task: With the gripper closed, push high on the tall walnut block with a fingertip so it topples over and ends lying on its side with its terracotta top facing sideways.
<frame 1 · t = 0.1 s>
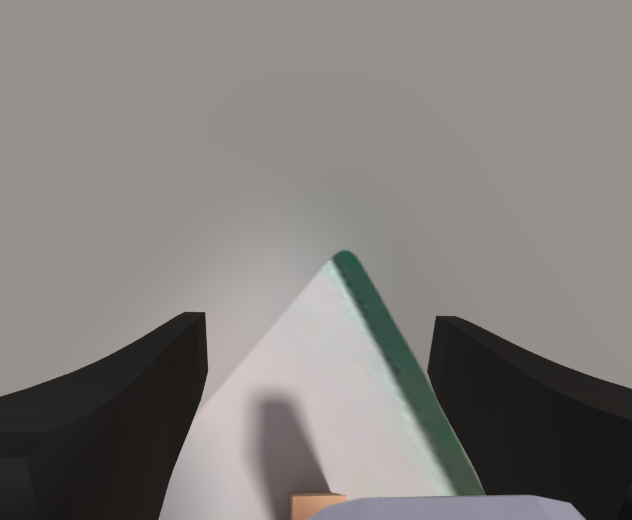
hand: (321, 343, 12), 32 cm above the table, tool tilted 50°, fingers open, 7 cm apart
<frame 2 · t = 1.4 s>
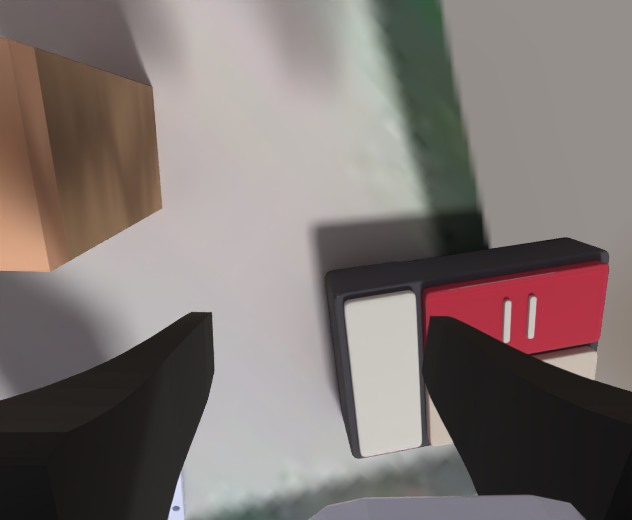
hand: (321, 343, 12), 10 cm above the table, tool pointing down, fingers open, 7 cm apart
walnut block: (117, 148, 19), on the table
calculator: (448, 330, 25), on the table
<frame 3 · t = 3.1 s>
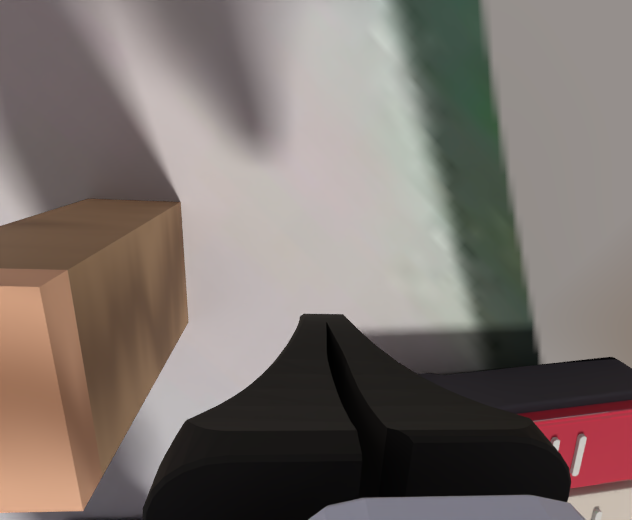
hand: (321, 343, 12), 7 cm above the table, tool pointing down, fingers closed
walnut block: (141, 264, 18), on the table
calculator: (477, 439, 23), on the table
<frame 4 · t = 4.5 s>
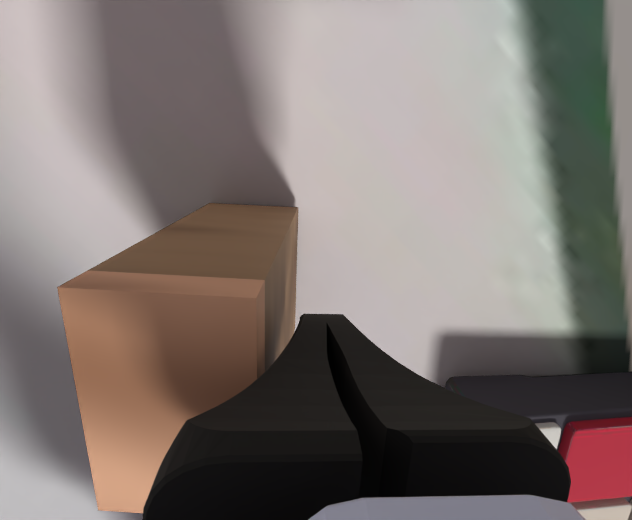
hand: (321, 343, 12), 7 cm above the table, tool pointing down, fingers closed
walnut block: (254, 268, 18), on the table, tilted 6°, touching gripper
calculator: (551, 443, 24), on the table
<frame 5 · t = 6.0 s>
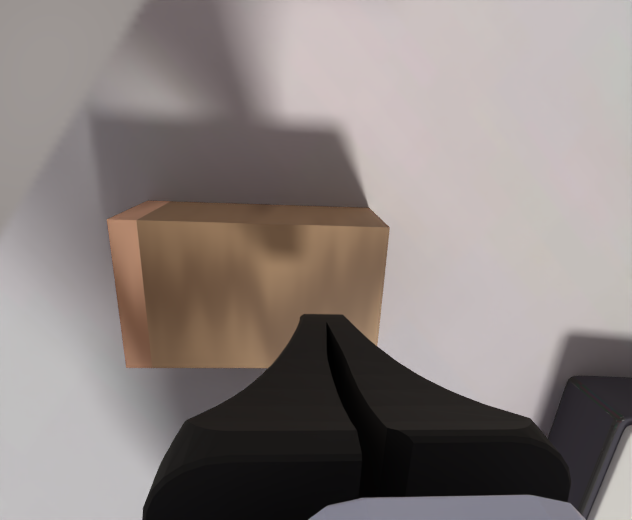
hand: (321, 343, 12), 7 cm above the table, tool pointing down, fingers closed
walnut block: (371, 283, 17), point 2 cm above the table, tilted 90°
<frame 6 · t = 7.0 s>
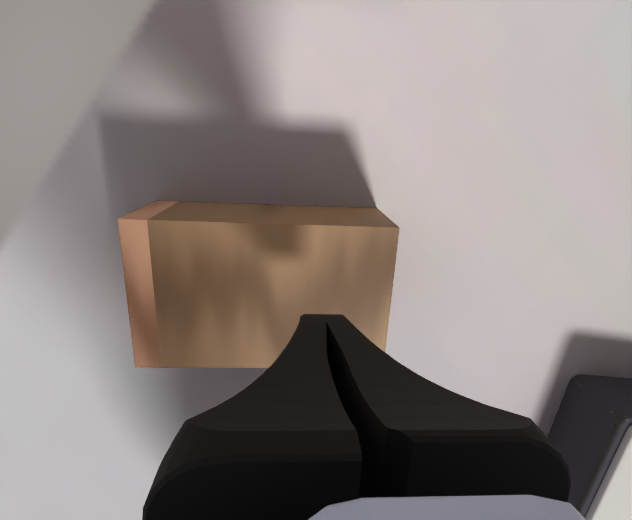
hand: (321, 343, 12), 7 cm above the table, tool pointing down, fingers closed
walnut block: (379, 283, 17), point 2 cm above the table, tilted 90°
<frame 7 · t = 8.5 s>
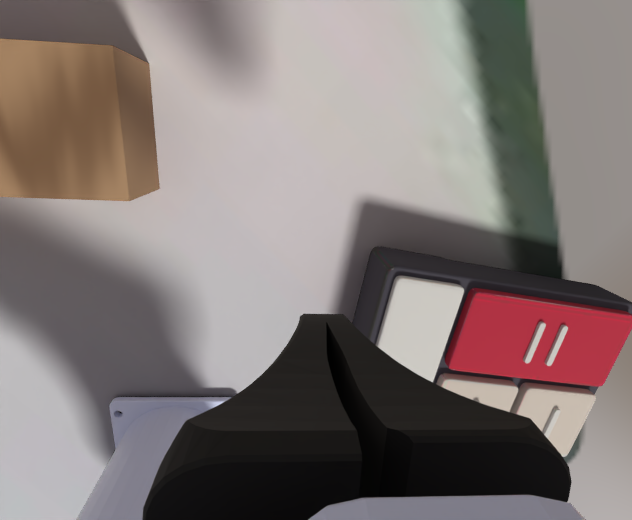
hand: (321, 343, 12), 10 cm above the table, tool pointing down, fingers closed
walnut block: (140, 128, 17), point 2 cm above the table, tilted 90°
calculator: (460, 341, 25), on the table
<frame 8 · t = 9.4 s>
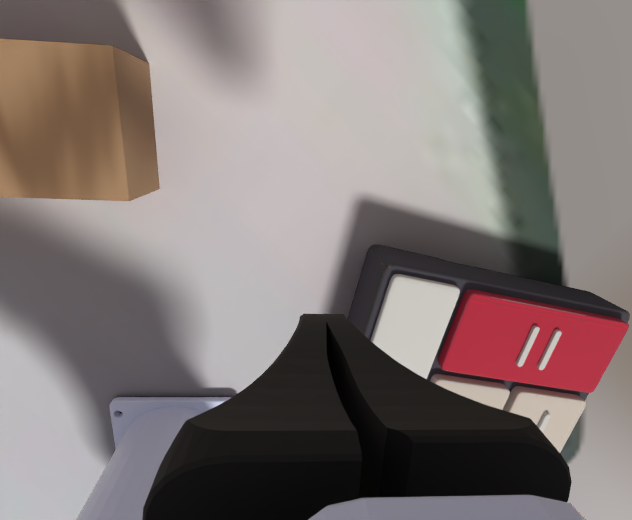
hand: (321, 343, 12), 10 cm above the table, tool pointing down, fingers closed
walnut block: (139, 128, 17), point 2 cm above the table, tilted 90°
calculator: (454, 343, 25), on the table
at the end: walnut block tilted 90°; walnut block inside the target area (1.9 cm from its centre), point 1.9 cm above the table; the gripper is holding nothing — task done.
